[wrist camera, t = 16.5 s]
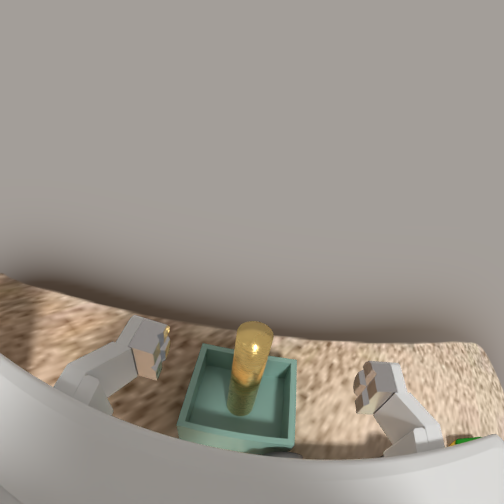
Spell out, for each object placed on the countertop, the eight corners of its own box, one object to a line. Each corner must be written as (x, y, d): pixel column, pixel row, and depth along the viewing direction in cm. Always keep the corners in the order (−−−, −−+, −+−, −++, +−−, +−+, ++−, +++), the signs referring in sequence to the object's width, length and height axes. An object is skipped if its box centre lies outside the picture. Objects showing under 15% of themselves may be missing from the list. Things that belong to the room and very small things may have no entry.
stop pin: (224, 413, 33) (234, 344, 25) (229, 392, 36) (239, 318, 28) (251, 418, 32) (272, 350, 25) (254, 397, 36) (274, 324, 28)
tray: (179, 438, 29) (176, 424, 26) (202, 363, 41) (202, 343, 38) (284, 457, 29) (294, 445, 26) (288, 378, 40) (296, 359, 38)
